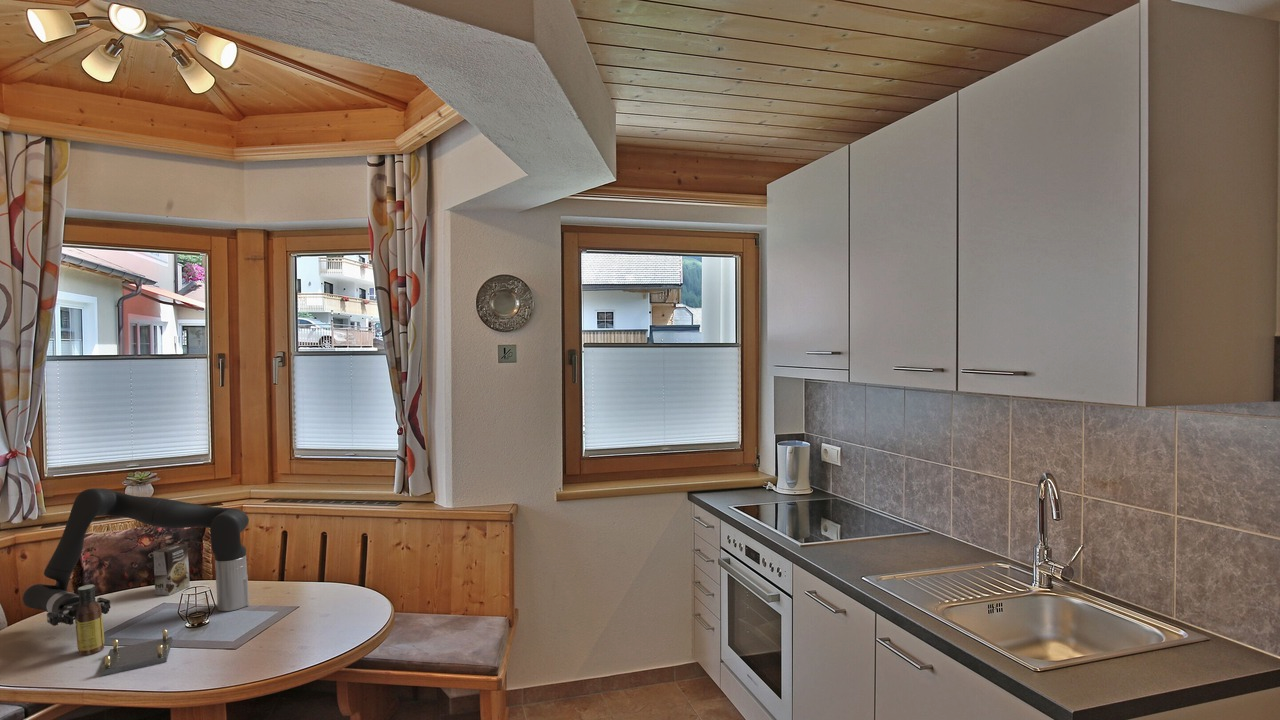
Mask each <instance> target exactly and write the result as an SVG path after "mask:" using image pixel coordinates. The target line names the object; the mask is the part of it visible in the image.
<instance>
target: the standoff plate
mask: <svg viewBox="0 0 1280 720" xmlns="http://www.w3.org/2000/svg"><path fill="white" fill-rule="evenodd" d="M171 643H173V637H172V636H169V637H168V629H167V628H166V629H162V638H159V639H155V640H150V641H144V642H140V643H134V644H130V645H125V646H122V647H119V640H118V638H117V639H116V638H115V639H113V640H112V648H111V649H110V650H109V651H108V654H107V655H105V656H104V662H103V665H102V666H101V668H100V671H99V672H100V673H99V675H100V676H99V677H103V676H107V675H113V674H116V673H117V674H118V673H121V672H122V673H123V672H125V671H130V670H131V671H132V670H135V669H139V668H144V667H148V666H154V665H157V664H163V663H167V661H168V658H169V655H170V650H171V647H172V644H171Z"/></svg>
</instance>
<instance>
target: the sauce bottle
mask: <svg viewBox="0 0 1280 720" xmlns="http://www.w3.org/2000/svg"><path fill="white" fill-rule="evenodd" d="M95 590H96V585H94V584H86V585H83V586H80V587H78V588H77V595H79V605H78V608H77V611H76V614H75V620H74V622H75V633H76V642H77V643H76V644H77V650H78V654H79V655H80V656H88V655H94V654H96V653H98V652H100V651H103V650H104V648H105V632H104V622H103V619H104V618H103V613H101V606H100V604H99V603H98V602H97V599H96V593H95ZM93 653H94V654H93Z"/></svg>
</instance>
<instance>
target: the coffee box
mask: <svg viewBox="0 0 1280 720" xmlns="http://www.w3.org/2000/svg"><path fill="white" fill-rule="evenodd" d="M188 547H189V546H188V544H185V543H180V544H179V543H178V544H177V543H173V544H171V545H168V546H165V547H163V548H159V549H156V550H153V552H152V553H153V570H154V571H153V574H154V591H155V592H154V594H155V595H158V596H171V595H173V594H175V593H177V592H180V591H182V590H184V589H187V588H189V587H191V584H190V566H189V565H190V564H189V563H190V562H189V549H188ZM188 586H189V587H188ZM186 587H187V588H186Z"/></svg>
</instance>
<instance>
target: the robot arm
mask: <svg viewBox="0 0 1280 720" xmlns="http://www.w3.org/2000/svg"><path fill="white" fill-rule="evenodd" d="M104 516H105V517H106V516H107V517H121V518H128V519H131V520H134V521H136V522H139V523H141V524H144V525H147V526H148V525H149V526H153V527H158V528H159V527H161V528H166V529H167V528H168V529H185V528H187V529H188V528H205V529H209V534H210V535H209V536H210V545H211V551H212V553H213V555H214V566H215V567H214V569H215V585H216V601H217V602H216V603H217V610H218V611H220V612H230V611H237V610H239V609H243V608H245V607H248V606H249V603H250V601H249V599H250V597H249V581H248V580H249V579H248V578H249V576H248V567H247V566H248V565H247V548H246V547H245V545H242V539H241V533H242V532H244V531H245V529H246V528H247V527H248V525H249V520H250V519H249V516H248V515H247V514H246V512H245V511H243V510H241V509H239V508H232V507H218V506H207V505H203V504H202V505H201V504H197V503H191V502H185V501H180V500H175V499H170V498H163V497H162V498H161V497H154V496H153V497H152V496H136V495H132V494H128V493H123V492H119V491H116V490H113V489H108V488H103V487H99V488H86V489H85V490H82V491H80V493H79V494H77V495H76V496H75V499H74V502H73V504H72V507H71V510H70V513H69V517H68V518H67V522H66V524H65V527H64V530H63V532H62V535H61V538H60V540H59V542H58V544H57V546H56V548H55V550H54V552H53V553H52V556H51V558H50V560H49V561H48V563H47V565H46V567H45V569H44V572H43V575H44V577H46V578H48V579H51V580H54V581H56V583H55V585H52V584H42V583H38V584H37V583H36V584H33V585H31V586H29V587H28V588H27V589H26V590H25V591H24V593H23V595H22V603H23V604H24V605H25V606H26V607H27V608H30V609H35V610H39V611H40V610H41V611H44V612H46V620H47V621H46V622H47V623H48V624H50V625H51V626H53V627H54V626H58V625H59V624H60V623H61V625H62V624H63V625H65V624H66V625H69V626H71V625H74V621H75V614H76V611H77V608H78V605H79V594H78V593H74V592H71V591H68V587H69V583H70V578H71V576H72V573H73V571H74V569H75V568H76V567H77V564H78V562H79V560H80V558H81V555H82V552H83V548H84V540H85V536H86V533H87V531H88V528H90V525H91V523H92V522H93V521H94V520H95V518H96V517H104ZM96 601H97V602H98V603H99V604H100V606H101V613H102V615H103V614H104V615H106V614H108V613H109V612H110V609H111V608H112V607H111V600H110V599H108V598H104V597H98V598H97V599H96Z"/></svg>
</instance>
